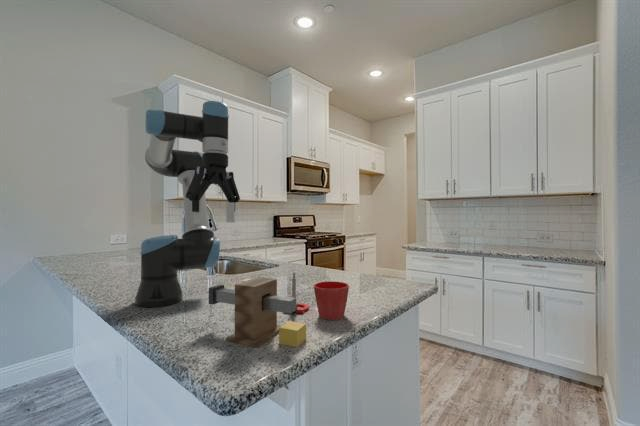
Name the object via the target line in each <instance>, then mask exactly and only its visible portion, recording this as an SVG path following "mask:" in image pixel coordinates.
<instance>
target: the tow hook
mask: <svg viewBox="0 0 640 426" xmlns="http://www.w3.org/2000/svg"><path fill="white" fill-rule="evenodd" d="M291 281H292V283H291V298H296V299H297V294H296V293H297V291H296V290H297V285H296V284H297V278H296V272H292V280H291ZM299 306H300V307H299ZM298 307H299V308H298ZM309 309H310V305H308V304H305V303H299V302H298V303H297V302H296V311H294V312H292V313H291V314H295V313H296V314H301V315H302V314H303V315H304V313H305V312H307V311H309Z"/></svg>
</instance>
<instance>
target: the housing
mask: <svg viewBox="0 0 640 426" xmlns="http://www.w3.org/2000/svg"><path fill="white" fill-rule="evenodd" d="M250 279H251V280H248V281H244V282H243V281H242V282H238V283H236V284H234V290H235V305H234V333H232V334H229V336H227V337H225V342H229V343H234V344H238V345H242V346H246V347H251V348H257V347H259V346H260V345H262V344H263V343H265V342H266V341H268V340H270V339H271V338H273V337H274V336H276V335H277V334H279V327H281V326H282V325H283V324H282V325H280V324H278V318H277V317H278V312H277V311H271V310H265V309H262V296H263V295H266V294H269V295H277V296H278V279H277V278H272V277H262V276H257V277H254V278H250Z"/></svg>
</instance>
